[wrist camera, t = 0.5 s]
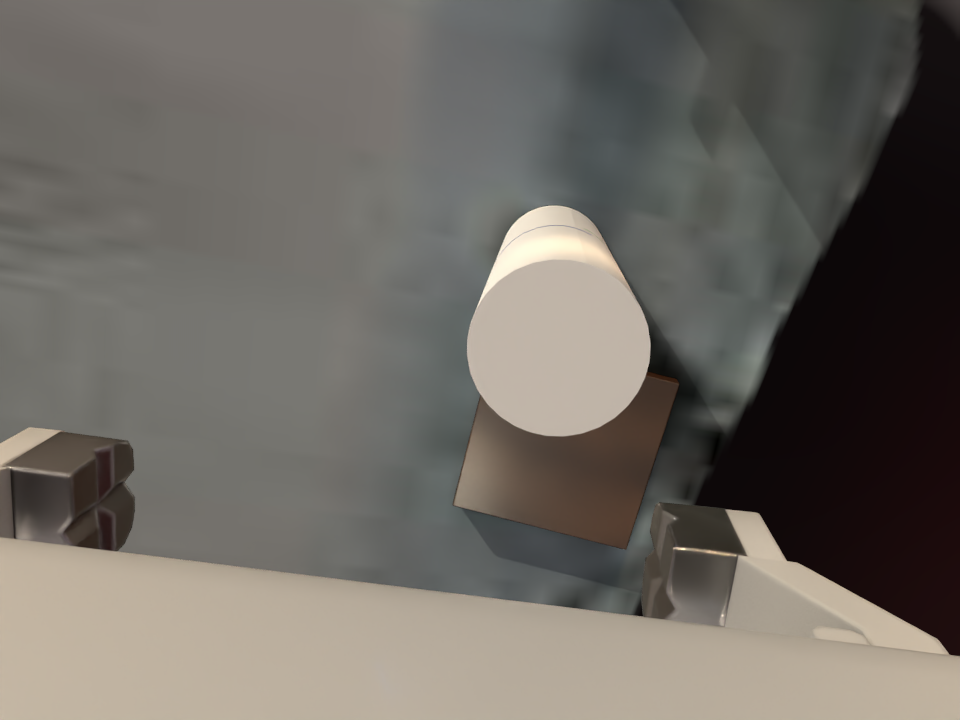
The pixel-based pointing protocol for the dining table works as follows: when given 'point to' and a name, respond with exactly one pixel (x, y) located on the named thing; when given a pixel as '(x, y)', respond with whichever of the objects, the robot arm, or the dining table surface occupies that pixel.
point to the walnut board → (568, 469)
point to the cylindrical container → (557, 328)
